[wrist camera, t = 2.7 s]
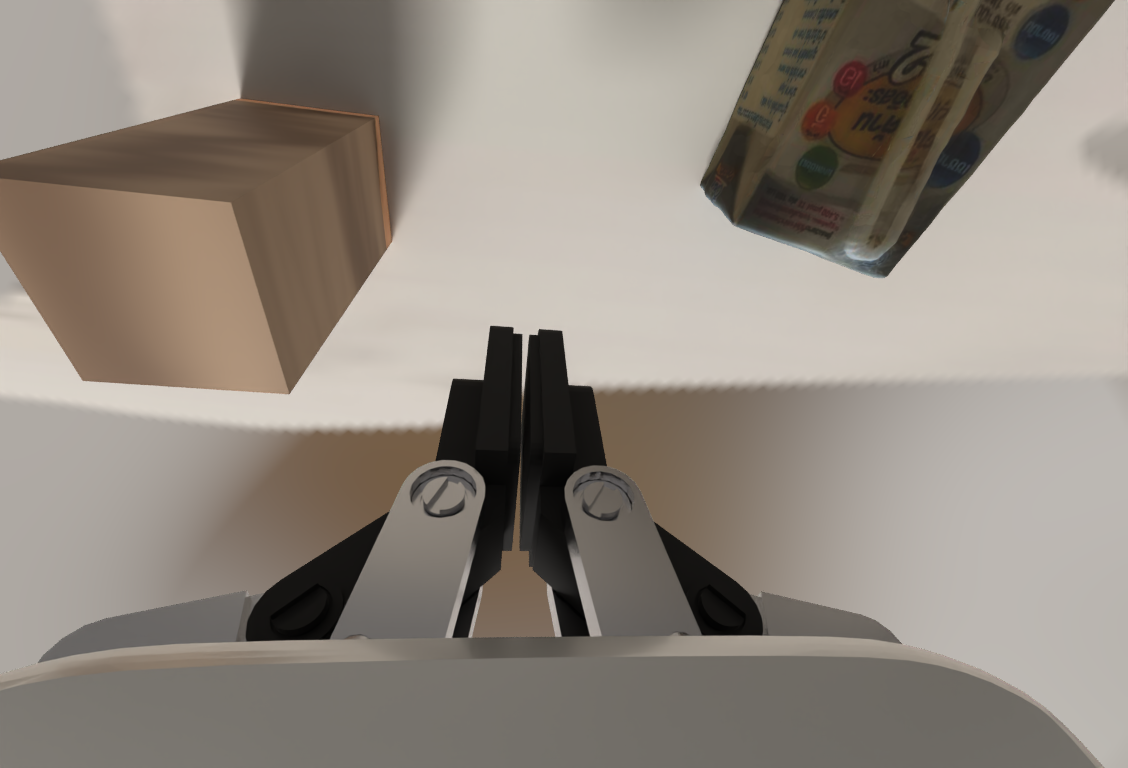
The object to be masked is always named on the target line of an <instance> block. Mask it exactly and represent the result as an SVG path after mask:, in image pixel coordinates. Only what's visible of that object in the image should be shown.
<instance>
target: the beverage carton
mask: <svg viewBox="0 0 1128 768" xmlns="http://www.w3.org/2000/svg"><path fill="white" fill-rule="evenodd" d="M1114 1H1115V0H784V3H783V5H782V7H781V9H780V11H779V13H778V15H777V18H776V20H775V22H774V24H773V26H772V28H771V30H770V33H769V35H768V37H767V39H766V41H765V43H764V46H763V48H762V50H761V52H760V54H759V56H758V58H757V61H756V63H755V65H754V67H753V69H752V71H751V73H750V76H749V78H748V80H747V82H746V84H745V86H744V89H743V91H742V93H741V95H740V98H739V100H738V102H737V104H736V107H735V109H734V112H733V114H732V116H731V119H730V121H729V124H728V126H727V128H726V131H725V133H724V135H723V137H722V139H721V141H720V143H719V145H718V148H717V150H716V152H715V154H714V156H713V159H712V161H711V163H710V165H709V167H708V169H707V171H706V173H705V175H704V177H703V179H702V181H701V184H700V186H701V188H703V190H704V191H705V195H706V197H707V198H708V199H709V200H711V202H712V203H713V204H714V205H715V206H716V207H718V208H719V209H720V210H721V211H722V212H723V213H724V215H725V216H726V217H727V218H728V220H729V221H730V222H731V223H732V224H733V225H734V226H736V227H739V228H741V229H744V230H747V231H749V232H752V233H754V234H757V235H760V236H763V237H766V238H769V239H772V240H775V241H777V242H780V243H783V244H786V245H789V246H792V247H795V248H798V249H801V250H804V251H807V252H809V253H812V254H814V255H816V256H818V257H821V258H823V259H825V260H828V261H831V262H834V263H836V264H839V265H841V266H844V267H846V268H849V269H852V270H854V271H857V272H859V273H862V274H865V275H868V276H871V277H874V278H885V277H887V276H888V275H889V273H890V272H891V271H892V270H893V268H894V267H895V266H896V264H897V263H898V262H899V261H900V260H901V258H902V257H903V256H904V255H905V254H906V252H907V251H908V250H909V249H910V248H911V246H912V245H913V244H914V243H915V242H916V241H917V240H918V238H919V237H920V236H921V235H922V233H923V232H924V231H925V230H926V229H927V228H928V227H929V225H930V224H931V223H932V221H933V220H934V219H935V217H936V216H937V215H938V214H939V212H940V211H941V210H942V208H943V207H944V206H945V205H946V204H947V203H948V201H949V200H950V199H951V198H952V197H953V196H954V195H955V194H956V193H957V191H958V190H959V189H960V188H961V187H962V186H963V185H964V183H965V182H966V181H967V180H968V179H969V178H970V176H971V175H972V174H973V173H974V172H975V170H976V169H977V168H978V167H979V165H980V164H981V163H982V162H983V160H984V159H985V158H986V157H987V155H988V154H989V153H990V152H991V150H992V149H993V148H994V147H995V146H996V144H997V143H998V142H999V141H1000V139H1001V138H1002V137H1003V136H1004V134H1005V133H1006V132H1007V131H1008V130H1009V128H1010V127H1011V126H1012V125H1013V124H1014V123H1015V122H1016V120H1017V119H1018V118H1019V117H1020V116H1021V115H1022V114H1023V112H1024V111H1025V110H1026V108H1027V107H1028V106H1029V104H1030V103H1031V101H1032V100H1033V99H1034V98H1035V96H1036V95H1037V94H1038V93H1039V92H1040V91H1041V90H1042V88H1043V87H1044V86H1045V85H1046V84H1047V82H1048V81H1049V80H1050V78H1051V77H1052V76H1053V75H1054V74H1055V72H1056V71H1057V70H1058V69H1059V68H1060V66H1061V65H1062V64H1063V63H1064V61H1065V60H1066V59H1067V58H1068V57H1069V55H1070V54H1071V53H1072V52H1073V51H1074V49H1075V48H1076V47H1077V46H1078V44H1079V43H1080V42H1081V41H1082V40H1083V38H1084V37H1085V36H1086V35H1087V34H1088V32H1089V31H1090V30H1091V29H1092V28H1093V27H1094V25H1095V24H1096V23H1097V22H1098V21H1099V19H1100V18H1101V17H1102V16H1103V14H1104V13H1105V12H1106V11H1107V9H1108V8H1109V7H1110V6H1111V4H1112V3H1113V2H1114Z"/></svg>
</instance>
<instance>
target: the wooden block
mask: <svg viewBox="0 0 1128 768" xmlns="http://www.w3.org/2000/svg"><path fill="white" fill-rule="evenodd" d="M391 242H392V239H391V229H390V220H389V210H388V201H387V191H386V182H385V173H384V163H383V154H382V144H381V135H380V125H379V116H375V115H367V114H359V113H351V112H343V111H336V110H328V109H320V108H312V107H304V106H296V105H289V104H281V103H273V102H265V101H257V100H249V99H241V98H240V99H236V100H232V101H229V102H225V103H221V104H217V105H213V106H209V107H205V108H201V109H198V110H194V111H190V112H186V113H182V114H178V115H174V116H170V117H166V118H163V119H159V120H155V121H151V122H147V123H143V124H139V125H135V126H132V127H128V128H124V129H120V130H117V131H112V132H109V133H104V134H100V135H97V136H93V137H89V138H85V139H81V140H77V141H74V142H70V143H66V144H62V145H58V146H54V147H50V148H46V149H42V150H39V151H35V152H31V153H27V154H23V155H19V156H15V157H11V158H7V159H3V160H0V252H1V253H2V255H3V256H4V257H5V259H6V261H7V263H8V264H9V266H10V267H11V269H12V270H13V272H14V274H15V275H16V277H17V278H18V280H19V281H20V283H21V285H22V286H23V288H24V289H25V291H26V292H27V294H28V295H29V297H30V299H31V300H32V302H33V303H34V305H35V306H36V308H37V310H38V311H39V313H40V314H41V316H42V317H43V319H44V321H45V322H46V324H47V325H48V327H49V328H50V330H51V332H52V333H53V335H54V336H55V338H56V339H57V341H58V343H59V344H60V346H61V347H62V349H63V350H64V352H65V354H66V355H67V357H68V358H69V360H70V361H71V363H72V365H73V366H74V368H75V369H76V371H77V372H78V374H79V375H80V377H81V379H82V380H83V381H94V382H109V383H125V384H140V385H155V386H171V387H186V388H202V389H217V390H233V391H248V392H263V393H279V394H290V392H291V391H292V389H293V388H294V387H295V385H296V384H297V382H298V381H299V379H300V378H301V376H302V375H303V373H304V372H305V370H306V369H307V367H308V366H309V364H310V363H311V361H312V360H313V358H314V357H315V355H316V354H317V352H318V351H319V349H320V348H321V346H322V345H323V343H324V342H325V340H326V339H327V337H328V336H329V334H330V333H331V331H332V330H333V328H334V327H335V325H336V324H337V323H338V321H339V320H340V318H341V317H342V315H343V314H344V312H345V311H346V309H347V308H348V306H349V305H350V303H351V302H352V300H353V299H354V297H355V296H356V294H357V293H358V291H359V290H360V288H361V287H362V285H363V284H364V282H365V281H366V279H367V278H368V276H369V275H370V273H371V272H372V270H373V269H374V267H375V266H376V264H377V263H378V262H379V260H380V259H381V257H382V256H383V254H384V253H385V251H386V250H387V248H388V247H389V245H390V244H391Z"/></svg>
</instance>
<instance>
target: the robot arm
mask: <svg viewBox="0 0 1128 768" xmlns="http://www.w3.org/2000/svg"><path fill="white" fill-rule="evenodd" d="M521 400H522V334H513V327H501V326H490V332H489V340H488V349H487V357H486V365H485V374H484V380H468V379H453V381H452V385H451V389H450V394H449V399H448V404H447V409H446V413H445V418H444V423H443V428H442V433H441V437H440V443H439V447H438V452H437V457H436V461H435V462H430V463H428V464H426V465H423V466H421V467H419V468H418V469H416V470H415V471H414V472H412V473H411V474H410V475H409V476H408V477H407V479H406V481H405V482H404V483H403V485H402V487H401V489H400V491H399V493H398V495H397V498H396V500H395V502H394V504H393V506H392V508H391V510H390V511H389V512H388V513H386V514H385V515H383V516H381V517H380V518H378V519H377V520H375V521H373V522H372V523H370V524H369V525H367V526H365V527H364V528H362V529H361V530H359V531H358V532H356V533H354V534H353V535H351V536H350V537H348V538H347V539H345V540H343V541H342V542H340V543H339V544H337V545H335V546H334V547H332V548H331V549H329V550H327V551H326V552H324V553H323V554H321V555H320V556H318V557H316V558H315V559H313V560H312V561H310V562H308V563H307V564H305V565H304V566H302V567H301V568H299V569H297V570H296V571H294V572H293V573H291V574H289V575H288V576H286V577H285V578H283V579H282V580H280V581H279V582H278V583H276V584H275V585H274V586H273V587H271V588H270V589H269V590H267V591H266V592H265V593H263V594H258V595H253V596H249V594H248V592H247V591H242V592H237V593H232V594H227V595H222V596H217V597H212V598H206V599H201V600H196V601H191V602H187V603H181V604H176V605H171V606H166V607H161V608H156V609H151V610H146V611H141V612H136V613H131V614H125V615H121V616H116V617H111V618H106V619H103V620H100V621H97V622H94V623H91V624H88V625H85V626H83V627H81V628H79V629H78V630H76V631H74V632H73V633H71V634H69V635H68V636H66V637H64V638H62V639H61V640H60V641H59V642H58V643H57V644H55V645H54V646H53V647H52V648H51V649H50V650H49V651H47V652H46V653H45V654H44V655H43V656H42V658H41V659H40V660H39V662H38V663H37V664H33V665H30V666H26V667H23V668H19V669H16V670H12V671H9V672H6V673H2V674H0V768H1104V767H1103V766H1102V764H1101V763H1100V762H1099V761H1098V760H1097V759H1096V758H1095V757H1094V756H1093V755H1092V753H1091V752H1090V751H1089V750H1088V749H1087V748H1086V747H1085V746H1084V745H1083V743H1082V742H1081V741H1079V739H1078V738H1077V737H1076V736H1075V735H1074V734H1073V733H1072V732H1071V731H1070V730H1069V729H1068V728H1067V727H1066V726H1065V725H1064V724H1063V723H1062V722H1061V721H1060V720H1058V719H1057V718H1056V717H1055V716H1054V715H1053V714H1052V713H1051V712H1050V711H1048V710H1047V709H1046V708H1045V707H1044V706H1042V705H1041V704H1040V703H1038V702H1037V701H1036V700H1034V699H1033V698H1031V697H1030V696H1029V695H1027V694H1026V693H1024V692H1023V691H1021V690H1019V689H1017V688H1015V687H1014V686H1012V685H1010V684H1008V683H1006V682H1005V681H1003V680H1001V679H999V678H997V677H995V676H993V675H991V674H989V673H986V672H984V671H983V670H981V669H978V668H976V667H973V666H970V665H968V664H965V663H962V662H960V661H957V660H955V659H952V658H949V657H946V656H944V655H941V654H937V653H934V652H931V651H928V650H924V649H920V648H916V647H912V646H908V645H903V644H902V643H901V642H900V641H899V640H898V639H897V638H896V637H895V636H894V635H893V633H892V632H891V631H890V630H888V629H887V628H886V627H884V626H883V625H881V624H880V623H879V622H877V621H876V620H873V619H871V618H868V617H866V616H863V615H860V614H856V613H852V612H847V611H843V610H839V609H834V608H830V607H826V606H821V605H817V604H813V603H809V602H804V601H800V600H796V599H791V598H787V597H783V596H778V595H774V594H770V593H765V592H761V593H760V594H759V595H758V596H754V595H750V594H749V593H748V592H747V591H746V590H745V589H744V588H743V587H741V586H740V585H739V584H738V583H737V582H736V581H734V580H733V579H732V578H730V577H729V576H728V575H726V574H725V573H723V572H722V571H721V570H719V569H718V568H717V567H715V566H714V565H712V564H711V563H710V562H708V561H707V560H706V559H704V558H703V557H701V556H700V555H699V554H697V553H696V552H695V551H693V550H692V549H691V548H689V547H688V546H686V545H685V544H684V543H682V542H681V541H680V540H678V539H677V538H675V537H674V536H673V535H671V534H670V533H669V532H667V531H666V530H664V529H663V528H662V527H660V526H659V525H658V524H656V523H655V522H654V521H653V519H652V517H651V515H650V512H649V510H648V508H647V505H646V503H645V501H644V498H643V496H642V493H641V491H640V490H639V488H638V486H637V485H636V483H635V482H634V481H633V480H632V479H631V478H630V477H629V476H627V475H626V474H624V473H623V472H620V471H619V470H617V469H614V468H611V467H607V464H606V459H605V453H604V449H603V442H602V437H601V431H600V426H599V421H598V415H597V410H596V404H595V399H594V393H593V389H592V387H591V386H573V385H568V377H567V368H566V360H565V351H564V343H563V334H562V331H557V330H543V329H539V331H538V335H529V344H528V356H527V367H526V378H525V389H524V401H523V412H522V424H521ZM520 452H521V477H520V480H521V482H520V551H529V567H533V570H534V572H536V573H537V574H538V575H539V576H540V577H541V578H542V579H543V580H544V581H545V582H546V583H547V595H548V601H549V606H550V611H551V616H552V622H553V627H554V632H555V637H506V638H505V637H502V638H501V637H500V638H499V637H497V638H472V633H473V629H474V625H475V621H476V616H477V612H478V608H479V603H480V600H481V595H482V585H484V584H485V583H486V582H487V581H488V580H489V579H490V578H492V577H493V576H494V575H495V574H496V573H497V572H498V571H499V570H501V558H502V551H511V550H512V542H513V530H514V520H515V509H516V497H517V486H518V477H519V476H518V475H519V465H520Z"/></svg>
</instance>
